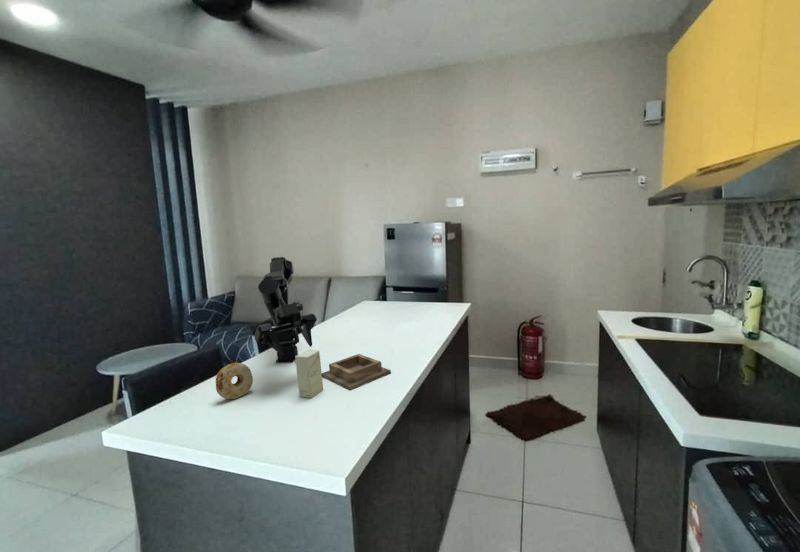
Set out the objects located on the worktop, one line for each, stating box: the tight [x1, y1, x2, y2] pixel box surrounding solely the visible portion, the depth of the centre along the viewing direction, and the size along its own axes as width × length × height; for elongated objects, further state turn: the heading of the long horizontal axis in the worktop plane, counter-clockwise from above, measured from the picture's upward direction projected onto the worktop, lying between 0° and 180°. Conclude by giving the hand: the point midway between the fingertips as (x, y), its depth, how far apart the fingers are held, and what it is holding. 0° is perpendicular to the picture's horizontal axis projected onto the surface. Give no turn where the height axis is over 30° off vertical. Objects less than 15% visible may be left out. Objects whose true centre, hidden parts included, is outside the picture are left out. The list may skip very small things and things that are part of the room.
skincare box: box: [294, 349, 324, 399], centre depth 111 cm, size 6×4×12 cm
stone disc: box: [215, 362, 254, 400], centre depth 112 cm, size 10×4×10 cm, turn 139°
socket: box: [321, 353, 392, 391], centre depth 123 cm, size 16×16×4 cm
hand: (297, 349), depth 114 cm, fingers open, 9 cm apart
